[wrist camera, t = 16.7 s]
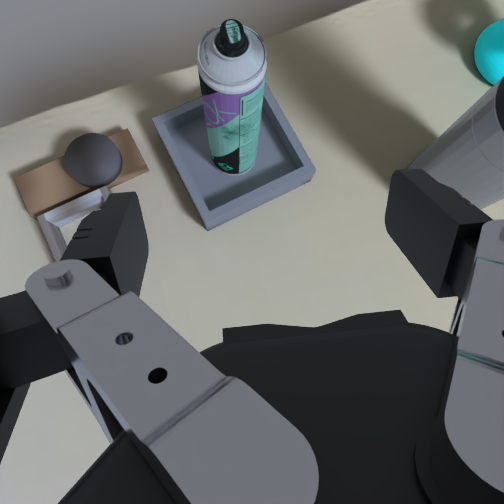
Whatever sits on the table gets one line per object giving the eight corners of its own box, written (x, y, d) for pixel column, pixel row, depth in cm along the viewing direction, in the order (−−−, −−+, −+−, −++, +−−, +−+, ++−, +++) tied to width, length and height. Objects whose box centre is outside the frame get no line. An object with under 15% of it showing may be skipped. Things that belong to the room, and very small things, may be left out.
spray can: (232, 125, 47) (230, -19, 28) (265, 154, 47) (286, 29, 27) (201, 155, 46) (175, 28, 27) (234, 185, 46) (232, 78, 26)
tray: (257, 89, 49) (259, 71, 46) (310, 181, 47) (316, 169, 44) (157, 133, 48) (151, 118, 44) (207, 231, 46) (205, 223, 42)
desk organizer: (130, 133, 48) (122, 118, 44) (181, 235, 45) (176, 227, 42) (21, 181, 46) (4, 169, 42) (68, 289, 44) (54, 286, 40)
